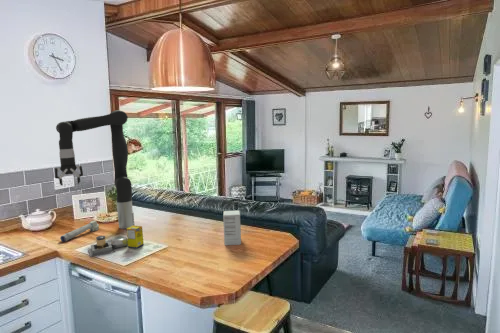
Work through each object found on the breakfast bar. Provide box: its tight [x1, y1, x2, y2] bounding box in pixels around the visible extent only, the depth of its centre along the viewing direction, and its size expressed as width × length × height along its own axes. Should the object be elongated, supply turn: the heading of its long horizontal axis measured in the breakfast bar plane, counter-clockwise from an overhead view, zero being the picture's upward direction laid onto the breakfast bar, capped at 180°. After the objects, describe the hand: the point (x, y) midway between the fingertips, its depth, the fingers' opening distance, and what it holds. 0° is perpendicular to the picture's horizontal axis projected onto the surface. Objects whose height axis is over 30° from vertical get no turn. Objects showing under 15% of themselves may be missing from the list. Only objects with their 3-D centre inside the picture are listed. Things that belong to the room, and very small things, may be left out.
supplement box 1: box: [126, 224, 145, 249], centre depth 183 cm, size 6×6×11 cm
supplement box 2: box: [222, 210, 242, 246], centre depth 184 cm, size 10×9×17 cm
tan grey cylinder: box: [95, 235, 107, 249], centre depth 179 cm, size 4×4×7 cm
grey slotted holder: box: [87, 237, 128, 258], centre depth 180 cm, size 19×12×4 cm, turn 120°
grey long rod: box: [59, 220, 100, 243], centre depth 206 cm, size 5×7×25 cm
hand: (70, 184), depth 195 cm, fingers open, 8 cm apart
